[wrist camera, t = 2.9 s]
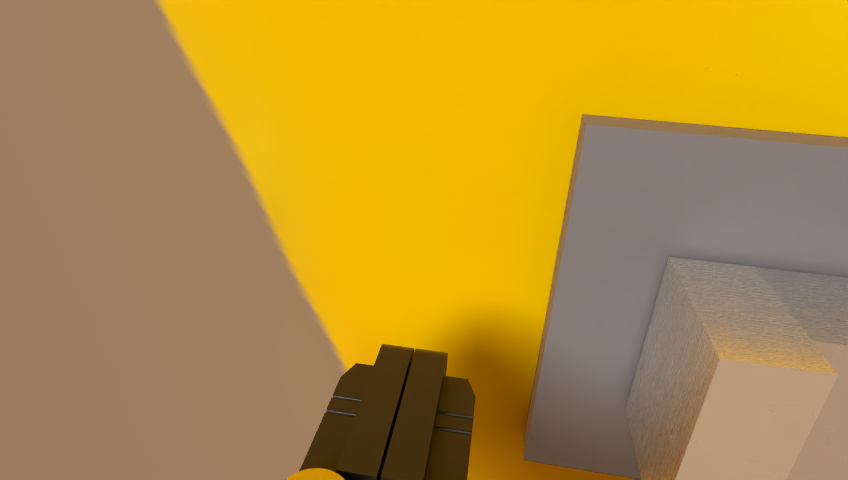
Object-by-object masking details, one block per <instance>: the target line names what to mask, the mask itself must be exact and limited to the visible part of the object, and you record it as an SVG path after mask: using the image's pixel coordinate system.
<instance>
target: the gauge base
mask: <svg viewBox="0 0 848 480" xmlns="http://www.w3.org/2000/svg"><path fill="white" fill-rule="evenodd" d="M669 257H676V258H684V259H693V260H702V261H710V262H719V263H727V264H736V265H745V266H753V267H762V268H770V269H779V270H788V271H796V272H805V273H813V274H822V275H830V276H839V277H848V138H847V137H835V136H824V135H812V134H801V133H789V132H778V131H766V130H755V129H743V128H732V127H720V126H709V125H698V124H686V123H675V122H663V121H652V120H640V119H629V118H617V117H606V116H594V115H583V114H582V119H581V125H580V130H579V136H578V141H577V147H576V153H575V158H574V164H573V169H572V175H571V180H570V186H569V191H568V197H567V202H566V208H565V213H564V219H563V224H562V230H561V235H560V241H559V246H558V252H557V258H556V263H555V269H554V274H553V280H552V285H551V291H550V296H549V302H548V307H547V313H546V318H545V324H544V329H543V335H542V340H541V346H540V351H539V357H538V363H537V368H536V374H535V379H534V385H533V390H532V396H531V401H530V407H529V412H528V418H527V423H526V429H525V434H524V460H526V461H532V462H538V463H544V464H550V465H556V466H562V467H568V468H574V469H580V470H586V471H592V472H598V473H604V474H610V475H616V476H622V477H628V478H634V479H640V480H641V476H640V472H639V467H638V463H637V459H636V454H635V450H634V445H633V441H632V437H631V432H630V428H629V424H628V419H627V415H626V410H625V408H626V405H627V401H628V398H629V394H630V391H631V387H632V384H633V380H634V377H635V373H636V370H637V366H638V363H639V359H640V356H641V352H642V349H643V345H644V342H645V338H646V335H647V331H648V328H649V324H650V321H651V317H652V314H653V310H654V307H655V303H656V300H657V296H658V293H659V289H660V286H661V282H662V279H663V275H664V272H665V268H666V265H667V261H668V258H669Z"/></svg>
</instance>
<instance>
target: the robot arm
mask: <svg viewBox="0 0 848 480" xmlns="http://www.w3.org/2000/svg"><path fill="white" fill-rule="evenodd" d="M447 357H448V353H444V352H436V351H429V350H422V349H416V350H415V352H414V348H407V347H400V346H393V345H386V344H383V345H382V346H381V348H380V351H379V354H378V356H377V359H376V362H375V364H374V366H372V365H365V364H358V363H356V364H355V365H354V366H353V367H352V368H350V369H349V370H348V371H347V372H346V373H345V374H344V375H343V376H342V377H341V378H340V380H339V382H338V385H337V387H336V389H335V391H334V394H333V398H331V401H330V403H329V405H328V407H327V411H326V413H325V414H324V416H323V419H322V421H321V423H320V426H319V428H318V430H317V432H316V435H315V437H314V439H313V442H312V444H311V446H310V448H309V451H308V453H307V455H306V458H305V460H304V462H303V465H302V467H301V469H300V470H299V472H297V473H294V474H293V475H291V476H290V477H288V478H287V479H286V480H467V473H468V463H469V454H470V444H471V434H472V424H473V415H474V405H475V395H474V393H473V391H472V388H471V386H470V384H469V381H468V379H462V378H455V377H448V376H446V369H447Z"/></svg>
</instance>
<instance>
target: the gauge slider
mask: <svg viewBox="0 0 848 480" xmlns="http://www.w3.org/2000/svg"><path fill="white" fill-rule="evenodd" d="M625 410H626V415H627V419H628V424H629V428H630V432H631V437H632V441H633V445H634V450H635V454H636V459H637V463H638V467H639V472H640V476H641V480H848V277H839V276H830V275H822V274H813V273H805V272H796V271H788V270H779V269H770V268H762V267H753V266H745V265H736V264H727V263H719V262H710V261H702V260H693V259H684V258H676V257H669V258H668V261H667V265H666V268H665V272H664V275H663V279H662V282H661V286H660V289H659V293H658V296H657V300H656V303H655V307H654V310H653V314H652V317H651V321H650V324H649V328H648V331H647V335H646V338H645V342H644V345H643V349H642V352H641V356H640V359H639V363H638V366H637V370H636V373H635V377H634V380H633V384H632V387H631V391H630V394H629V398H628V401H627V405H626V408H625Z"/></svg>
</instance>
